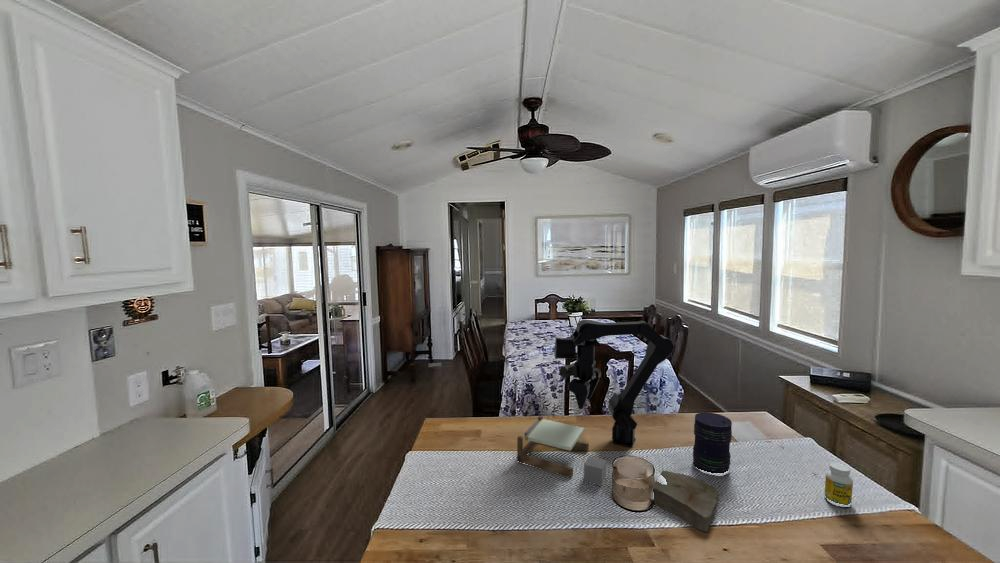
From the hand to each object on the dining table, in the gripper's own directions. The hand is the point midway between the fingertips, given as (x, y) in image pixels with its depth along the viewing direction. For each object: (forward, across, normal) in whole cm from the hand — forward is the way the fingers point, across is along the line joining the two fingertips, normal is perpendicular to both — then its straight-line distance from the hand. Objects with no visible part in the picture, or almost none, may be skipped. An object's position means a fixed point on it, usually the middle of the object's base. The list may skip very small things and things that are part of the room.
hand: (584, 403), depth 135 cm
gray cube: (+13, +20, +9) cm, 25 cm away
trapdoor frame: (+13, +14, -6) cm, 20 cm away
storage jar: (+13, -2, +38) cm, 40 cm away
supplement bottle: (+13, +1, +67) cm, 68 cm away
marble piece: (+14, +20, +32) cm, 40 cm away
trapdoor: (+6, +14, -6) cm, 16 cm away
